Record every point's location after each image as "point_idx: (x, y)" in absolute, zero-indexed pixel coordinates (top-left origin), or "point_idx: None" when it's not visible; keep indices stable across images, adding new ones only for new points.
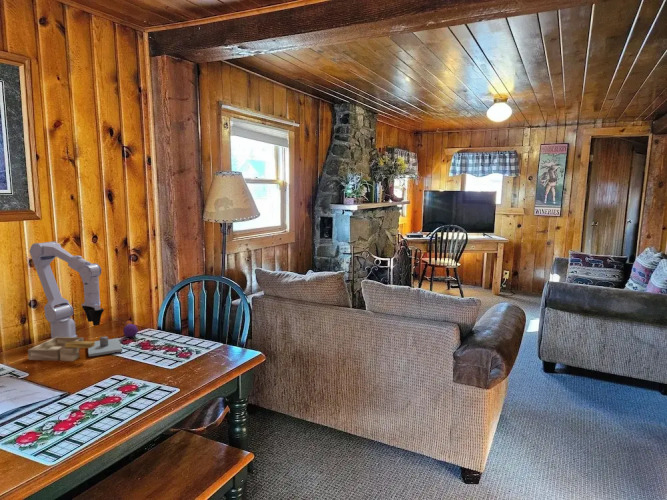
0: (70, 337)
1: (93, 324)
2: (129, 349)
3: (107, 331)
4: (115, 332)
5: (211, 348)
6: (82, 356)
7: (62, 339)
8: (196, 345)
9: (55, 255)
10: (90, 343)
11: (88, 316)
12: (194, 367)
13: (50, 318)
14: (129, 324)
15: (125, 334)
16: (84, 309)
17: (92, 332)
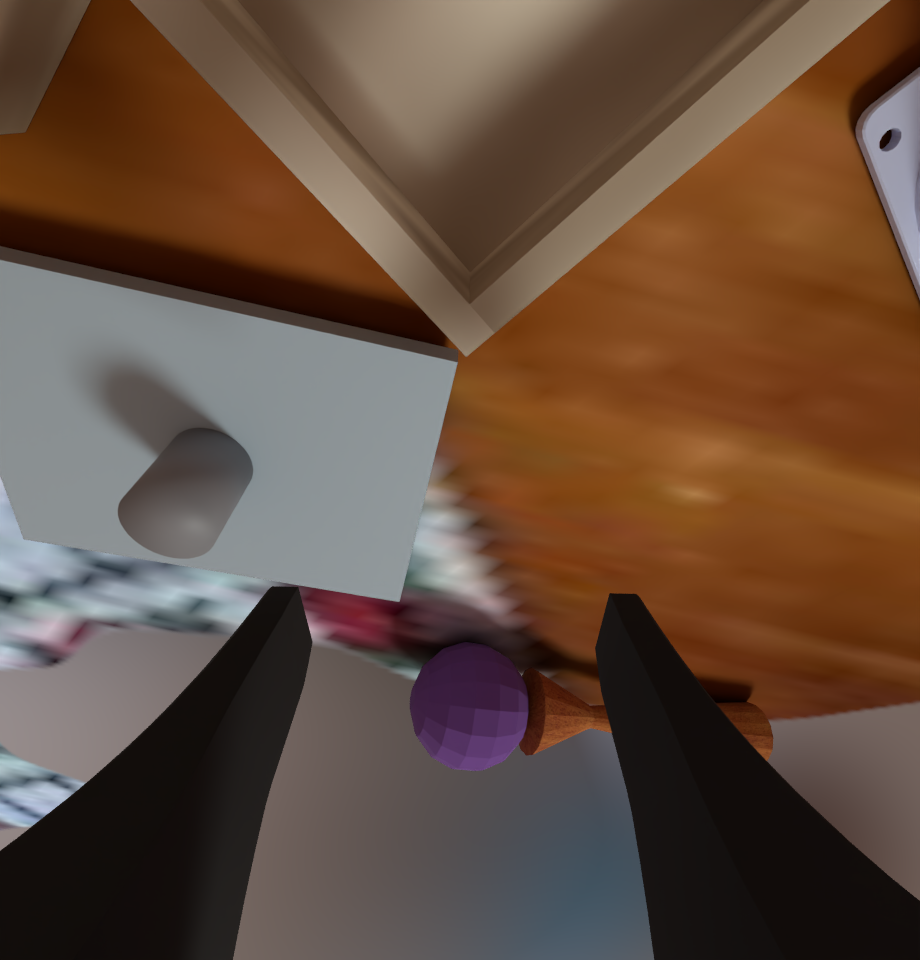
0: (632, 192)
1: (258, 602)
2: (121, 569)
3: (780, 596)
4: (683, 624)
5: None
6: (57, 179)
7: (743, 46)
8: (46, 780)
9: None
10: None
11: (644, 694)
12: None
13: None
14: (475, 760)
15: (447, 656)
16: (748, 888)
17: (903, 509)
